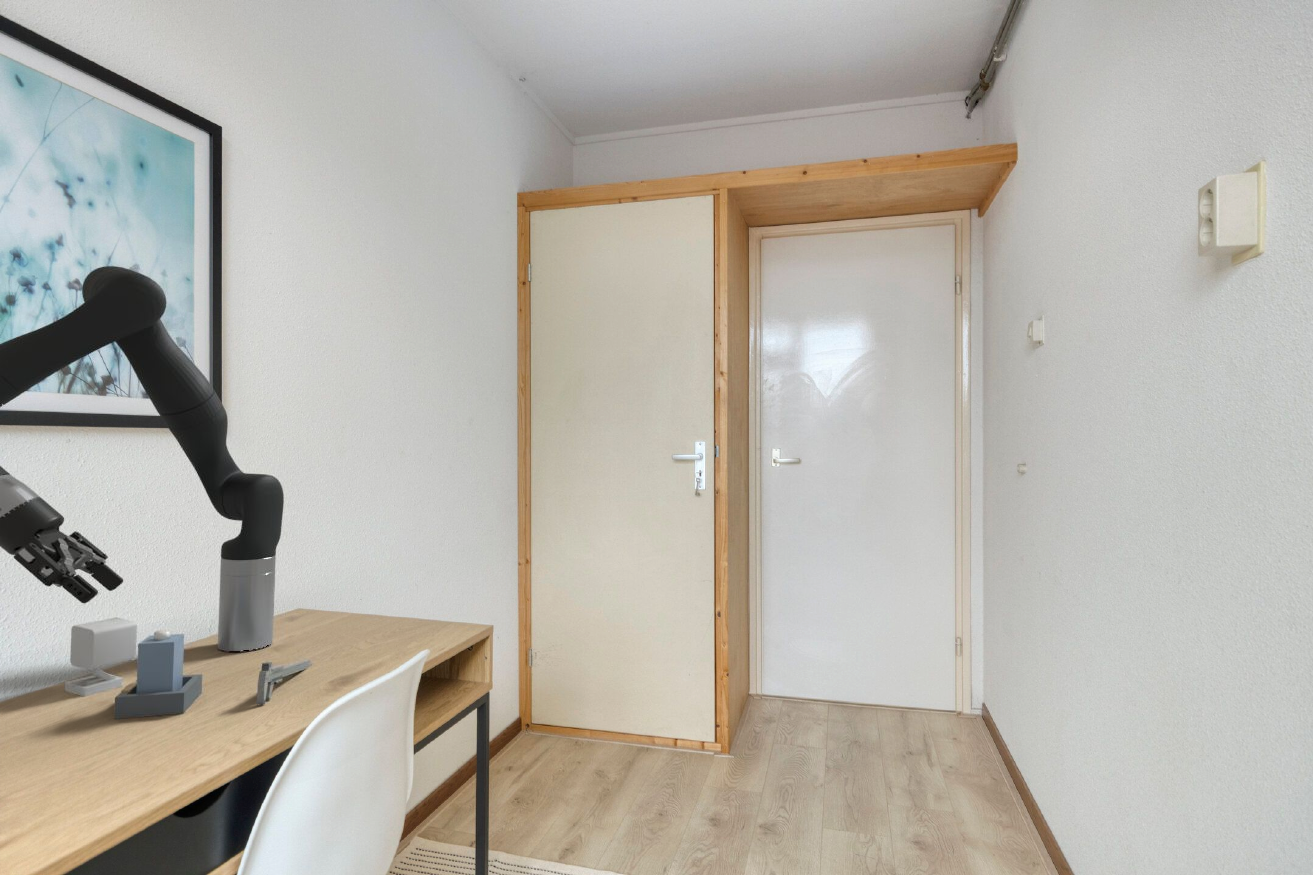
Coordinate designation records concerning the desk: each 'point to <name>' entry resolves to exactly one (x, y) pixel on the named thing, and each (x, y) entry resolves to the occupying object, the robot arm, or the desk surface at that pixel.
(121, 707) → the pocket plate
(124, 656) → the security camera
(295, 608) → the desk surface
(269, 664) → the caliper
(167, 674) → the blue gray block
